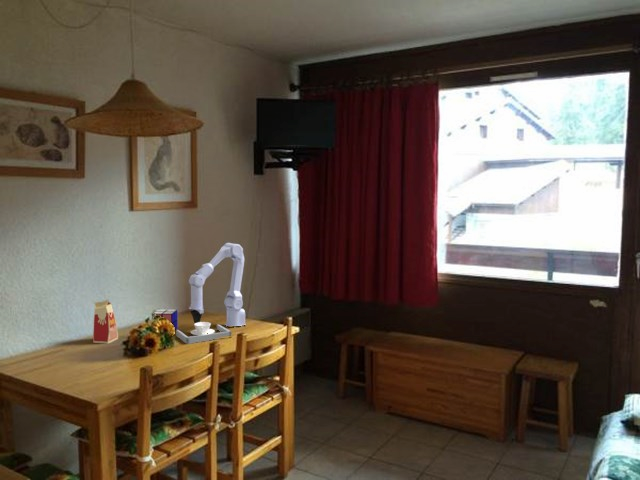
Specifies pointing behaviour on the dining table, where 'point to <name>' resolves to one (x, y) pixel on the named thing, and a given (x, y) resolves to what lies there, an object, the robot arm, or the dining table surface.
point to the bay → (205, 337)
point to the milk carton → (104, 323)
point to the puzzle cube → (168, 316)
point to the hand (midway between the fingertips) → (197, 324)
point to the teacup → (202, 328)
